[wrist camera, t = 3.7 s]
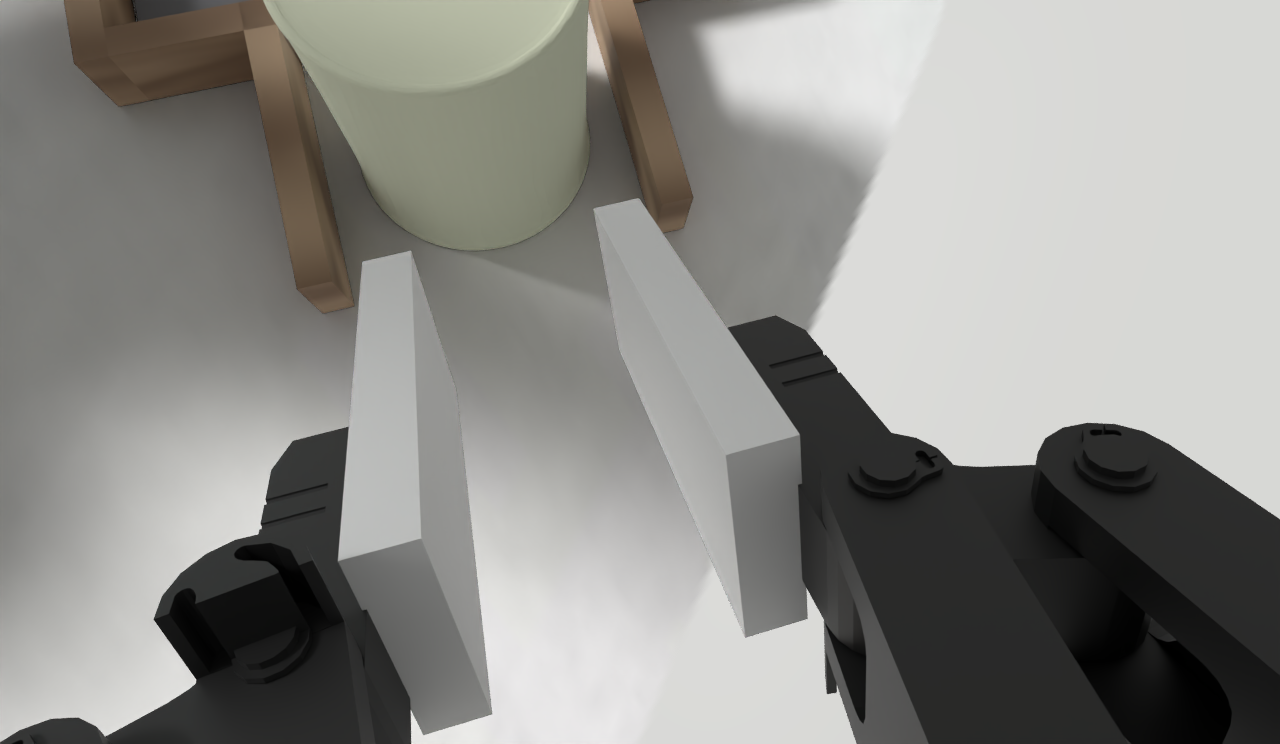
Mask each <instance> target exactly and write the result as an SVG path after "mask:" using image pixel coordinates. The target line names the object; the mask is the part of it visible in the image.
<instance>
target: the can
mask: <svg viewBox="0 0 1280 744" xmlns="http://www.w3.org/2000/svg"><path fill="white" fill-rule="evenodd" d="M263 1H264V3H265V6H266V8H267V10H268V12H269V14H270V15H271V17H272V19H273V20H274V22H275V23H276V25H277V26H278V28H279V29H280V31H281V32H282V33H283V35H284V36H285V37H286V38H287V39H288V40H289V42H290V44H291V45H292V47H293V48H294V50H295V52H296V53H297V55H298V57H299V58H300V60H301V62H302V63H303V65H304V67H305V68H306V70H307V72H308V74H309V75H310V77H311V79H312V80H313V82H314V84H315V85H316V87H317V89H318V90H319V92H320V94H321V96H322V97H323V99H324V101H325V103H326V104H327V106H328V108H329V110H330V112H331V113H332V115H333V117H334V119H335V120H336V122H337V124H338V126H339V127H340V129H341V131H342V133H343V135H344V136H345V138H346V140H347V142H348V143H349V145H350V147H351V149H352V150H353V152H354V154H355V156H356V158H357V160H358V162H359V164H360V167H361V170H362V174H363V177H364V179H365V182H366V184H367V187H368V189H369V191H370V192H371V194H372V196H373V198H374V199H375V200H376V202H377V203H378V205H379V206H380V207H381V209H382V210H383V211H384V212H385V213H386V214H387V215H388V216H389V217H390V218H391V219H392V220H393V221H394V222H395V223H397V224H398V225H399V226H400V227H402V228H403V229H405V230H406V231H408V232H409V233H411V234H413V235H414V236H416V237H418V238H420V239H422V240H425V241H427V242H430V243H433V244H436V245H439V246H443V247H447V248H452V249H458V250H471V251H478V250H490V249H497V248H502V247H506V246H509V245H513V244H516V243H518V242H521V241H523V240H526V239H528V238H530V237H532V236H534V235H535V234H537V233H539V232H540V231H542V230H543V229H545V228H546V227H547V226H549V225H550V224H551V223H553V222H554V221H555V220H556V219H557V218H558V217H559V216H560V215H561V214H562V213H563V212H564V211H565V210H566V209H567V207H568V206H569V205H570V203H571V202H572V201H573V199H574V197H575V196H576V194H577V192H578V191H579V189H580V187H581V184H582V182H583V180H584V177H585V174H586V170H587V166H588V162H589V156H590V133H589V126H588V122H587V118H586V84H587V32H588V5H589V0H263Z"/></svg>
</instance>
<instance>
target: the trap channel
mask: <svg viewBox="0 0 1280 744" xmlns="http://www.w3.org/2000/svg"><path fill="white" fill-rule="evenodd" d="M134 1H135V6H136V12H137V17H138V21H137V22H136V19H135V13H134V8H133V2H132V0H64V5H65V11H66V17H67V23H68V29H69V36H70V42H71V48H72V54H73V60H74V64H75V65H76V66H77V67H78V68H79V69H80V70H81V71H82V72H83V73H84V74H85V75H87V76H88V77H89V78H90V79H91V80H92V81H93V82H94V83H95V84H96V85H97V86H98V87H99V88H100V89H101V90H102V91H103V92H104V93H105V94H106V95H107V96H108V97H109V98H110V99H111V100H112V101H113V102H114V103H115V104H116V105H117V106H119V107H120V106H125V105H130V104H135V103H140V102H145V101H150V100H154V99H159V98H164V97H169V96H174V95H179V94H184V93H189V92H194V91H199V90H204V89H209V88H214V87H219V86H224V85H229V84H234V83H239V82H244V81H249V80H254V83H255V88H256V93H257V97H258V102H259V107H260V112H261V117H262V122H263V127H264V131H265V136H266V141H267V146H268V151H269V156H270V160H271V165H272V170H273V175H274V180H275V185H276V190H277V194H278V199H279V204H280V209H281V214H282V219H283V224H284V228H285V233H286V238H287V243H288V248H289V253H290V258H291V262H292V267H293V272H294V277H295V282H296V287H297V290H298V291H299V292H300V293H302V294H303V295H304V296H305V297H306V298H307V299H308V300H309V301H310V302H311V303H312V304H313V305H314V306H315V307H317V308H318V309H319V310H320V311H321V312H322V313H327V312H331V311H336V310H340V309H344V308H348V307H352V306H354V301H353V297H352V292H351V288H350V283H349V279H348V274H347V270H346V265H345V260H344V256H343V251H342V247H341V242H340V238H339V233H338V228H337V224H336V219H335V215H334V210H333V206H332V201H331V196H330V192H329V187H328V183H327V178H326V174H325V169H324V164H323V160H322V155H321V151H320V146H319V142H318V137H317V132H316V128H315V123H314V119H313V114H312V110H311V105H310V100H309V96H308V91H307V87H306V82H305V78H304V73H303V68H302V64H301V60H300V58H299V57H298V55H297V53H296V52H295V50H294V48H293V47H292V45H291V44H290V42H289V40H288V39H287V38H286V37H285V36H284V35H283V33H282V32H281V31H280V29H279V28H278V26H277V25H276V23H275V22H274V20H273V19H272V17H271V15H270V14H269V12H268V10H267V8H266V6H265V3H264V1H263V0H134ZM643 1H648V0H589V5H588V10H589V14H590V17H591V21H592V24H593V27H594V31H595V34H596V37H597V41H598V44H599V48H600V51H601V54H602V58H603V61H604V65H605V68H606V71H607V75H608V78H609V81H610V85H611V88H612V92H613V95H614V98H615V102H616V105H617V109H618V112H619V115H620V119H621V122H622V126H623V129H624V132H625V136H626V139H627V142H628V146H629V149H630V153H631V156H632V159H633V163H634V166H635V170H636V173H637V176H638V180H639V183H640V186H641V190H642V193H643V197H644V200H645V203H646V207H647V210H648V212H649V214H650V215H651V217H652V218H653V220H654V221H655V223H656V224H657V225H658V227H659V228H660V230H661V231H662V233H665V232H669V231H673V230H678V229H682V228H684V225H685V222H686V218H687V215H688V212H689V209H690V206H691V203H692V200H693V195H692V191H691V188H690V185H689V182H688V178H687V175H686V172H685V169H684V165H683V162H682V159H681V156H680V152H679V149H678V146H677V143H676V139H675V136H674V133H673V130H672V126H671V123H670V120H669V117H668V113H667V110H666V107H665V104H664V100H663V97H662V94H661V91H660V87H659V84H658V81H657V78H656V74H655V71H654V68H653V65H652V61H651V58H650V55H649V52H648V48H647V45H646V42H645V39H644V35H643V32H642V29H641V26H640V22H639V19H638V16H637V13H636V9H635V6H634V3H638V2H643Z"/></svg>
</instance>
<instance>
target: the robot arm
mask: <svg viewBox="0 0 1280 744" xmlns="http://www.w3.org/2000/svg"><path fill="white" fill-rule="evenodd" d="M593 210H594V215H595V221H596V226H597V231H598V237H599V242H600V248H601V253H602V259H603V264H604V270H605V275H606V281H607V286H608V291H609V297H610V302H611V308H612V313H613V319H614V324H615V330H616V335H617V341H618V346H619V351H620V353H621V355H622V358H623V360H624V362H625V364H626V367H627V369H628V371H629V374H630V376H631V378H632V380H633V383H634V385H635V387H636V390H637V392H638V394H639V396H640V399H641V401H642V403H643V405H644V408H645V410H646V412H647V415H648V417H649V419H650V421H651V424H652V426H653V428H654V431H655V433H656V435H657V437H658V440H659V442H660V444H661V447H662V449H663V451H664V453H665V456H666V458H667V460H668V463H669V465H670V467H671V469H672V472H673V474H674V476H675V478H676V481H677V483H678V485H679V488H680V490H681V492H682V494H683V497H684V499H685V501H686V504H687V506H688V508H689V510H690V513H691V515H692V517H693V520H694V522H695V524H696V526H697V529H698V531H699V533H700V536H701V538H702V540H703V542H704V545H705V547H706V549H707V551H708V554H709V556H710V558H711V561H712V563H713V565H714V567H715V570H716V572H717V574H718V576H719V579H720V581H721V583H722V586H723V588H724V590H725V592H726V595H727V597H728V599H729V602H730V604H731V606H732V608H733V610H734V613H735V615H736V618H737V620H738V622H739V624H740V626H741V628H742V631H743V634H744V636H745V637H748V636H752V635H755V634H759V633H762V632H765V631H769V630H772V629H775V628H779V627H782V626H785V625H788V624H792V623H795V622H798V621H802V620H805V619H807V595H806V588H807V589H808V591H809V593H810V595H811V597H812V599H813V600H814V602H815V604H816V606H817V608H818V609H819V611H820V613H821V615H822V617H823V619H824V640H825V677H826V689H827V694H831V693H836V692H837V686H838V689H839V692H840V695H841V698H842V701H843V704H844V707H845V710H846V713H847V716H848V719H849V722H850V725H851V728H852V731H853V734H854V737H855V740H856V743H857V744H1280V519H1279V518H1277V517H1276V516H1274V515H1273V514H1271V513H1270V512H1268V511H1267V510H1265V509H1264V508H1262V507H1261V506H1259V505H1258V504H1256V503H1255V502H1254V501H1252V500H1251V499H1249V498H1248V497H1246V496H1245V495H1243V494H1241V493H1240V492H1239V491H1237V490H1236V489H1234V488H1233V487H1231V486H1230V485H1228V484H1227V483H1225V482H1224V481H1222V480H1221V479H1220V478H1218V477H1217V476H1215V475H1213V474H1212V473H1211V472H1209V471H1208V470H1206V469H1205V468H1203V467H1202V466H1200V465H1199V464H1197V463H1196V462H1194V461H1193V460H1191V459H1190V458H1189V457H1187V456H1185V455H1184V454H1182V453H1181V452H1180V451H1178V450H1177V449H1175V448H1173V447H1172V446H1171V445H1169V444H1167V443H1165V442H1163V441H1161V440H1160V439H1157V438H1155V437H1153V436H1152V435H1150V434H1148V433H1146V432H1144V431H1140V430H1136V429H1132V428H1128V427H1124V426H1120V425H1116V424H1098V423H1085V424H1080V425H1075V426H1070V427H1065V428H1062V429H1060V430H1058V431H1057V432H1055V433H1053V434H1052V435H1050V436H1048V437H1047V438H1045V440H1044V442H1043V444H1042V446H1041V448H1040V450H1039V451H1038V454H1037V460H1036V465H1023V466H994V467H969V466H957V465H953V464H952V463H951V462H950V461H949V460H948V459H947V458H946V457H945V456H944V455H943V454H942V453H941V452H940V451H939V450H938V449H937V448H935V447H933V446H931V445H929V444H927V443H925V442H923V441H921V440H919V439H917V438H914V437H909V436H904V435H899V434H894V433H891V432H890V431H889V430H888V428H887V427H886V426H885V425H884V424H883V422H882V421H881V420H880V419H879V418H878V417H877V415H876V414H875V413H874V412H873V411H872V410H871V408H870V407H869V406H868V405H867V404H866V402H865V401H864V400H863V399H862V398H861V396H860V395H859V394H858V393H857V391H856V390H855V389H854V388H853V387H852V386H851V385H850V383H849V382H848V381H847V380H846V378H845V377H844V376H843V375H842V374H841V373H838V371H837V368H836V366H835V365H834V364H833V363H832V362H831V360H830V359H829V358H828V357H827V356H826V355H825V356H824V355H823V351H822V350H821V349H820V347H819V346H818V345H817V344H816V342H815V341H814V340H813V339H812V338H811V336H810V335H809V334H808V333H807V332H806V331H805V330H804V329H802V328H800V327H798V326H796V325H794V324H792V323H790V322H788V321H786V320H784V319H782V318H780V317H778V316H772V317H768V318H764V319H760V320H756V321H753V322H749V323H745V324H741V325H737V326H733V327H729V328H727V327H726V325H725V324H724V322H723V321H722V319H721V318H720V317H719V315H718V314H717V312H716V311H715V309H714V308H713V306H712V305H711V303H710V302H709V300H708V299H707V297H706V296H705V294H704V293H703V292H702V290H701V289H700V287H699V286H698V284H697V283H696V281H695V280H694V278H693V277H692V275H691V274H690V272H689V271H688V270H687V268H686V267H685V265H684V264H683V262H682V261H681V259H680V258H679V256H678V255H677V253H676V252H675V250H674V249H673V247H672V246H671V245H670V243H669V242H668V240H667V239H666V237H665V236H664V234H663V233H662V231H661V230H660V228H659V227H658V225H657V224H656V223H655V221H654V220H653V218H652V217H651V215H650V214H649V212H648V211H647V209H646V208H645V206H644V205H643V203H642V202H641V200H640V199H639V198H636V199H632V200H628V201H623V202H619V203H615V204H610V205H606V206H602V207H597V208H593ZM266 502H267V505H264V510H263V515H262V520H261V525H262V529H260V530H259V535H254V536H250V537H246V538H242V539H237V540H234V541H232V542H230V543H228V544H226V545H224V546H222V547H220V548H218V549H216V550H214V551H211V552H209V553H207V554H206V555H204V556H203V557H202V558H200V559H199V560H198V561H197V562H195V563H194V564H193V565H191V566H190V567H189V568H187V569H186V570H185V571H183V572H182V573H181V574H180V575H179V576H178V578H177V579H176V580H175V581H174V582H173V584H172V585H171V586H170V587H169V589H168V590H167V591H166V592H165V593H164V595H163V596H162V598H161V601H160V603H159V606H158V609H157V612H156V614H155V617H154V621H155V622H156V623H157V625H158V626H159V628H160V629H161V630H162V632H163V633H164V635H165V636H166V637H167V639H168V640H169V642H170V643H171V644H172V646H173V647H174V649H175V650H176V652H177V653H178V654H179V656H180V657H181V659H182V660H183V661H184V663H185V664H186V666H187V667H188V668H189V670H190V671H191V673H192V674H193V675H194V677H195V678H196V684H195V685H194V686H193V687H191V688H190V689H189V690H187V691H186V692H184V693H183V694H181V695H180V696H178V697H176V698H175V699H173V700H172V701H170V702H169V703H167V704H165V705H163V706H161V707H160V708H158V709H156V710H154V711H152V712H150V713H149V714H147V715H145V716H143V717H141V718H139V719H138V720H136V721H134V722H132V723H130V724H128V725H126V726H125V727H123V728H121V729H119V730H117V731H115V732H114V733H112V734H110V735H108V736H106V737H105V736H104V735H103V734H102V733H101V731H100V730H99V729H98V728H97V727H96V726H94V725H92V724H90V723H88V722H86V721H84V720H82V719H80V718H61V719H50V720H47V721H44V722H42V723H39V724H36V725H33V726H30V727H28V728H25V729H22V730H19V731H18V732H16V733H15V734H13V735H11V736H10V737H8V738H7V739H5V740H3V741H2V742H0V744H411V711H412V713H413V715H414V717H415V719H416V721H417V723H418V725H419V727H420V729H421V731H422V733H423V735H425V734H429V733H432V732H435V731H438V730H442V729H445V728H448V727H452V726H455V725H458V724H462V723H465V722H468V721H472V720H475V719H478V718H481V717H485V716H488V715H491V714H492V708H491V699H490V690H489V681H488V672H487V663H486V653H485V644H484V635H483V626H482V617H481V608H480V599H479V590H478V580H477V571H476V562H475V553H474V544H473V535H472V526H471V517H470V507H469V498H468V489H467V480H466V471H465V462H464V453H463V444H462V435H461V425H460V416H459V407H458V398H457V391H456V387H455V384H454V381H453V378H452V375H451V372H450V369H449V366H448V363H447V360H446V357H445V354H444V350H443V347H442V344H441V341H440V338H439V335H438V332H437V329H436V326H435V323H434V320H433V317H432V314H431V310H430V307H429V304H428V301H427V298H426V295H425V292H424V289H423V286H422V283H421V280H420V277H419V273H418V270H417V267H416V264H415V261H414V258H413V255H412V252H411V251H407V252H402V253H398V254H393V255H389V256H385V257H380V258H376V259H372V260H367V261H363V262H362V272H361V284H360V296H359V308H358V321H357V333H356V345H355V357H354V370H353V382H352V394H351V406H350V419H349V427H346V428H342V429H338V430H334V431H330V432H326V433H322V434H318V435H315V436H311V437H307V438H303V439H299V440H295V441H292V443H291V444H290V446H289V447H288V448H287V450H286V451H285V452H284V454H283V455H282V456H281V458H280V459H279V461H278V462H277V463H276V465H275V466H274V467H273V469H272V470H271V475H270V480H269V485H268V490H267V495H266Z"/></svg>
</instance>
